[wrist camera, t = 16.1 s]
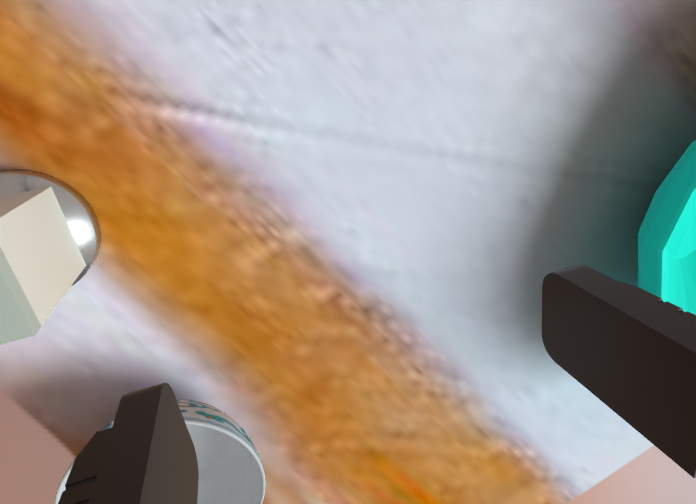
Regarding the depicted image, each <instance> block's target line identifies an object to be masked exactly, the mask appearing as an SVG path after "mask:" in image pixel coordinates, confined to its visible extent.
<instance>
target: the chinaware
mask: <svg viewBox="0 0 696 504" xmlns="http://www.w3.org/2000/svg"><path fill="white" fill-rule="evenodd" d="M176 401H177V403H178V406H179V408H180V411H181V413H182V416H183V418H184V421H185V423H186V426H187V429H188V431H189V434H190V436H191V439H192V441H193V444H194V447H195V451H196V456H197V462H198V471H199V480H198V498H197V504H262V502H263V499H264V494H265V475H264V470H263V466H262V463H261V461H260V458H259V455H258V453H257V451H256V449H255V447H254V445H253V443H252V441H251V440H250V438H249V437H248V435H247V434H246V433H245V431H244V430H243V429H242V428H241V426H240V425H239V424H238V423H237V422H236V421H235V420H233V419H232V418H231V417H230V416H228V415H227V414H226V413H224V412H222V411H221V410H219V409H217V408H215V407H213V406H210V405H208V404H205V403H201V402H197V401H192V400H180V399H176ZM113 423H114V421H112V422H111V423H110V424H108V425H107V426H106V427H105V428H103V429H102V430H105V429H108V428H112V426H113ZM82 450H83V449H82ZM82 450H81V451H82ZM78 455H79V454H78ZM78 455H77V456H78ZM74 461H75V459H74ZM74 461H73V462H72V464H71V465H70V467H69V468H68V470H67V471H66V473H65V475H64V476H63V478H62V480H61V482H60V484H59V487H58V490H57V493H56V497H55V504H58V502H59V500H60V497H61V495H62V492H63V491H65V490H66V487H65V484H66V482H67V479H68V477H69V474H70V471H71V469H72V466H73V464H74Z"/></svg>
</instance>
